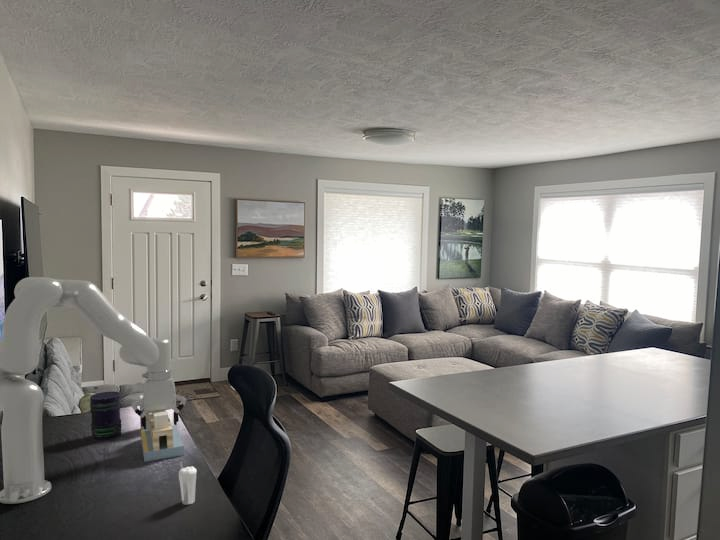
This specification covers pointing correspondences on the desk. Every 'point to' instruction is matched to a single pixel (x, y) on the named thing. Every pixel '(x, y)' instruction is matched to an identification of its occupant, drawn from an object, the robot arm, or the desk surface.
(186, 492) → the milkshake
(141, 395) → the supplement box
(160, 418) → the crate cream
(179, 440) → the block
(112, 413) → the storage jar
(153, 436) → the pallet
